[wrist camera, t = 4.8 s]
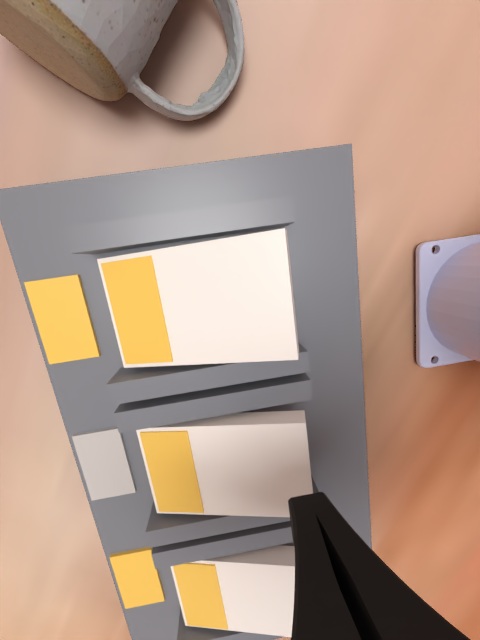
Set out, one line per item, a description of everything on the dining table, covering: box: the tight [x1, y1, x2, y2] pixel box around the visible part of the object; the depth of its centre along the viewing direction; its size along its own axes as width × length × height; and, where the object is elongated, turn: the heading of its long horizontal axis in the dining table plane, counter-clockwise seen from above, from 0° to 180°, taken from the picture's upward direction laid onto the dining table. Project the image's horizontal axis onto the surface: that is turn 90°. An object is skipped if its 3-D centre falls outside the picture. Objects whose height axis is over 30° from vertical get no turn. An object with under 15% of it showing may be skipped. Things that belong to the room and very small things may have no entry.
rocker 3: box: [170, 545, 295, 637], centre depth 16 cm, size 8×5×1 cm, turn 98°
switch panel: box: [0, 144, 372, 640], centre depth 16 cm, size 16×28×5 cm, turn 8°
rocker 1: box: [97, 228, 299, 368], centre depth 12 cm, size 8×5×1 cm, turn 98°
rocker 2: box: [136, 410, 313, 517], centre depth 14 cm, size 8×5×1 cm, turn 98°
